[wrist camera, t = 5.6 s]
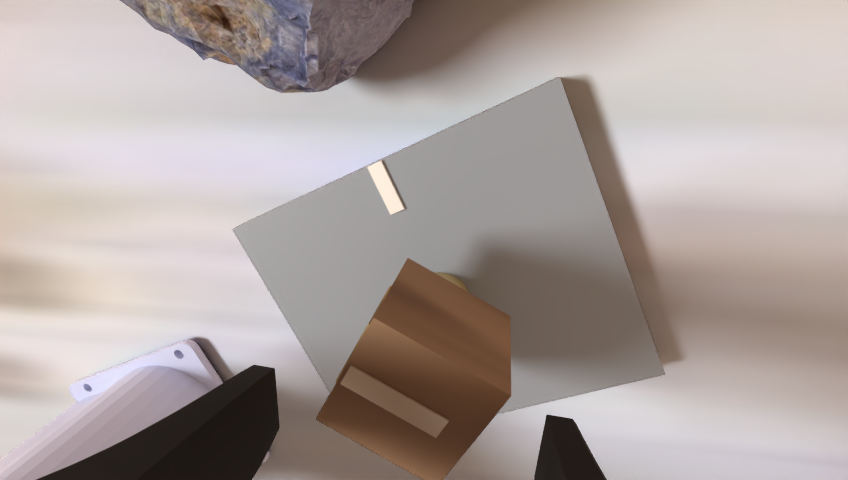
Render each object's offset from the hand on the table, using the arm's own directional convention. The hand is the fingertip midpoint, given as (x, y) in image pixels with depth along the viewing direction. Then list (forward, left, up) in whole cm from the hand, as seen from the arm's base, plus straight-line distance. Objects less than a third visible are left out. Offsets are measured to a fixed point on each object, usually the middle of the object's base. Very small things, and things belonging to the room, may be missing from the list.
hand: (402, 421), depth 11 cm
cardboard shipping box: (0, 0, -4) cm, 4 cm away
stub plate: (0, 0, -8) cm, 8 cm away
